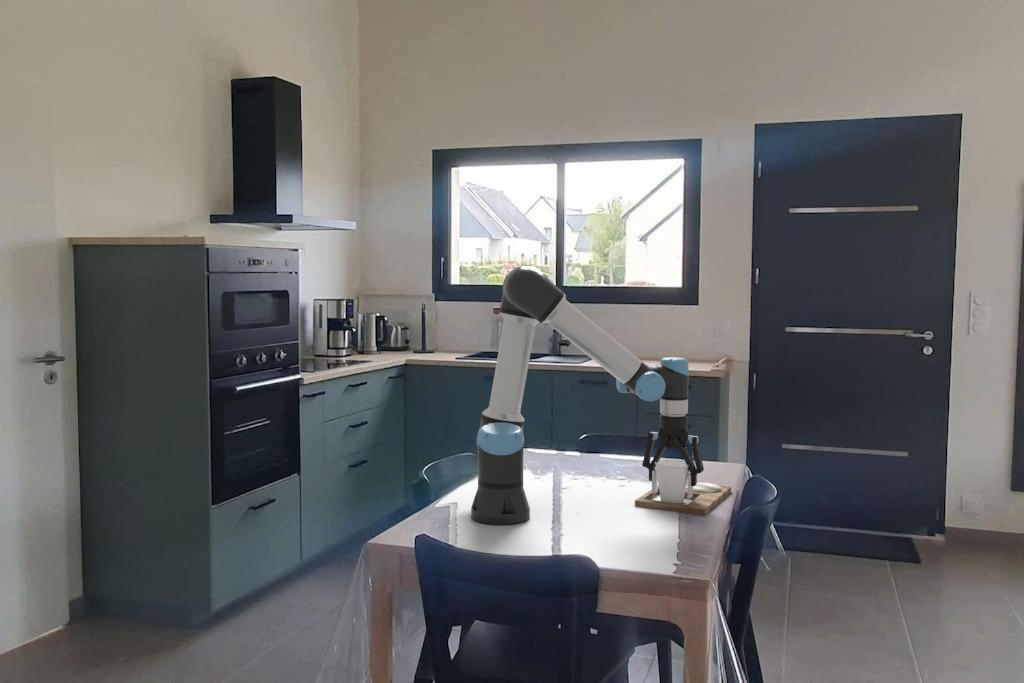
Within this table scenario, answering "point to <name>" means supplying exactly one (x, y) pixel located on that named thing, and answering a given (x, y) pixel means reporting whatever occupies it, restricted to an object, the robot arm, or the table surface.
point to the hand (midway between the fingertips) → (672, 495)
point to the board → (702, 503)
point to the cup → (672, 479)
